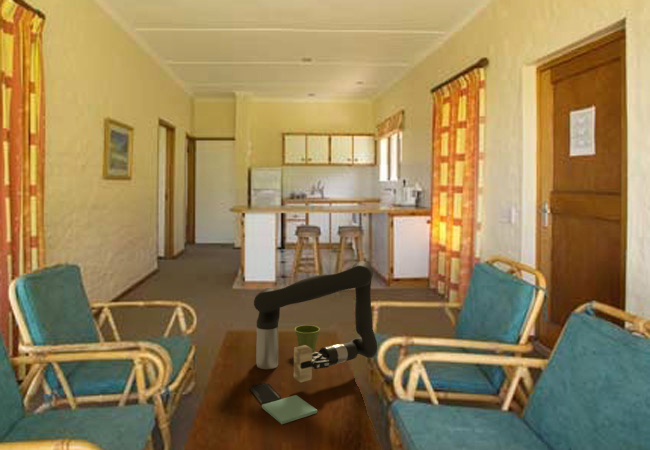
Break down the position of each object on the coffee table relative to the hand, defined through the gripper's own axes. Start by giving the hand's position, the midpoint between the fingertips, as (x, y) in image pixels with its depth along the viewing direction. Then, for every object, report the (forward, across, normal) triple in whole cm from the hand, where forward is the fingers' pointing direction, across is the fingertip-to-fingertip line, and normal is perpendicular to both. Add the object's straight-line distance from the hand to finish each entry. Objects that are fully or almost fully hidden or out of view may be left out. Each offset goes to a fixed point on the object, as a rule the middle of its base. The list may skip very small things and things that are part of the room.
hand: (297, 363), depth 178 cm
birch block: (-3, 0, +7) cm, 7 cm away
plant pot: (-26, -33, +11) cm, 43 cm away
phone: (+11, -5, +12) cm, 17 cm away
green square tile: (+10, +11, +11) cm, 19 cm away
